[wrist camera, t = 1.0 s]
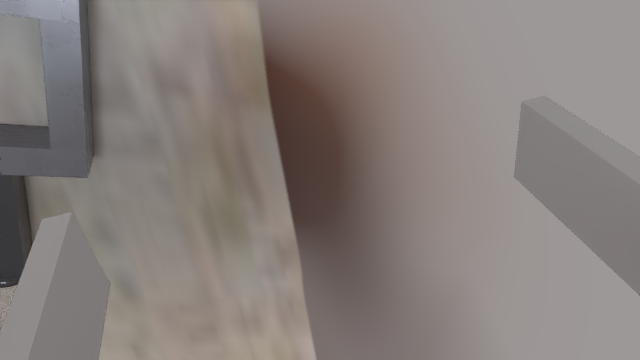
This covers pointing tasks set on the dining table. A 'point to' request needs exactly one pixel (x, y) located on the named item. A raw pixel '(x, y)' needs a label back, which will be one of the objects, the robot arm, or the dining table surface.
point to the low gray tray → (63, 118)
